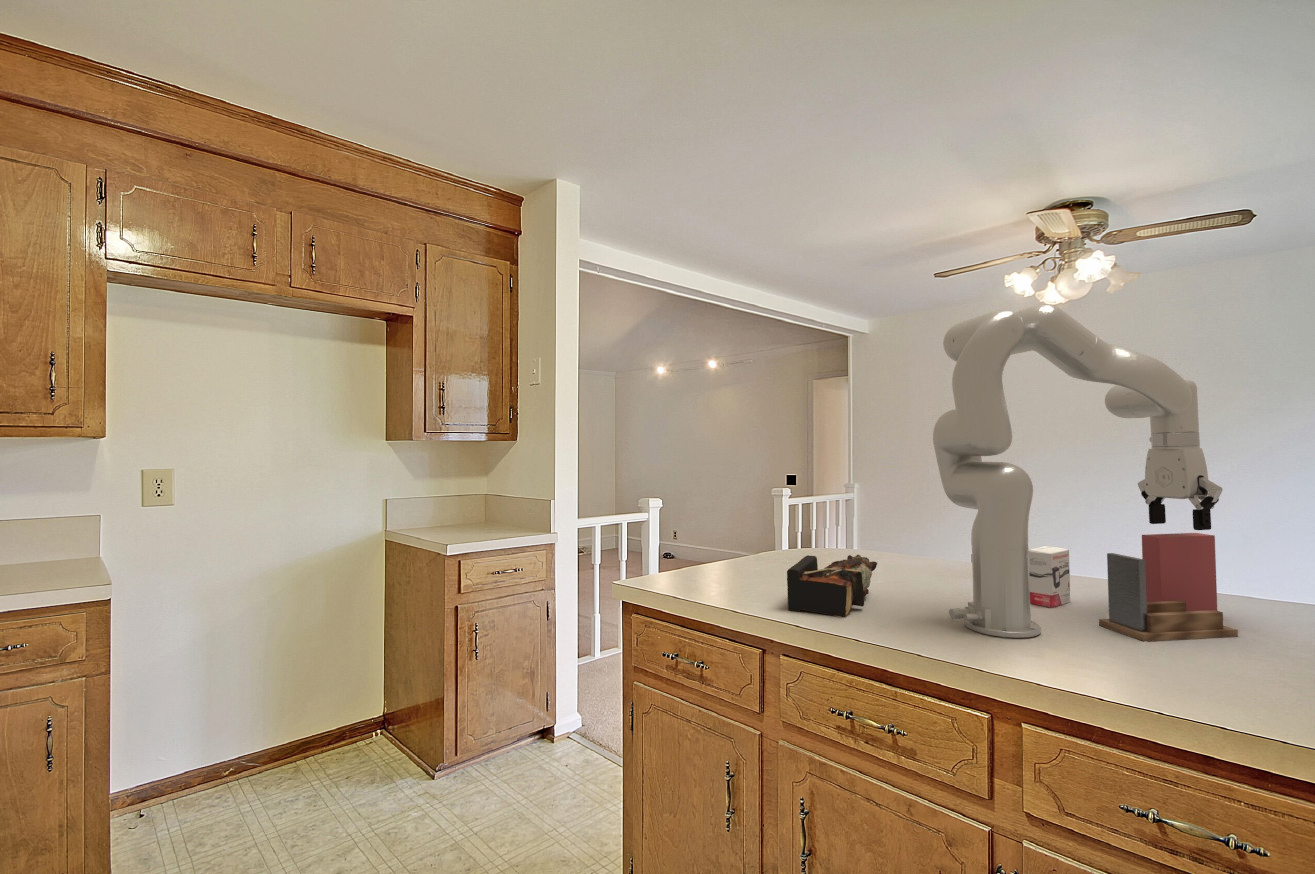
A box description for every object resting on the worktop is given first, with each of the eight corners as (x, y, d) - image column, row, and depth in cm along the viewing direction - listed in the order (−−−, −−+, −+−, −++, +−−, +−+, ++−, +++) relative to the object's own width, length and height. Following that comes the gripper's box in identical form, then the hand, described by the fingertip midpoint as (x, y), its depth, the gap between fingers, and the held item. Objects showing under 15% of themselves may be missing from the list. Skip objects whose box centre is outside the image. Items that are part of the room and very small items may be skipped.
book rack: (1144, 641, 109) (1143, 617, 109) (1099, 625, 119) (1098, 603, 119) (1238, 636, 111) (1237, 612, 111) (1185, 620, 121) (1184, 599, 121)
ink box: (1052, 608, 132) (1051, 552, 132) (1028, 603, 136) (1026, 549, 136) (1071, 602, 137) (1069, 548, 137) (1047, 597, 141) (1045, 545, 141)
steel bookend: (1141, 638, 111) (1138, 559, 111) (1109, 627, 118) (1106, 553, 118) (1147, 638, 111) (1145, 559, 111) (1115, 627, 118) (1112, 552, 118)
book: (1161, 619, 123) (1159, 537, 123) (1144, 613, 127) (1141, 534, 127) (1217, 616, 124) (1214, 535, 124) (1198, 610, 128) (1195, 532, 128)
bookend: (784, 570, 134) (816, 541, 156) (788, 619, 135) (820, 584, 156) (854, 574, 127) (877, 543, 148) (858, 626, 127) (881, 587, 149)
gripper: (1121, 442, 134) (1125, 522, 134) (1199, 442, 117) (1203, 533, 117) (1154, 441, 135) (1158, 520, 134) (1235, 440, 117) (1240, 531, 117)
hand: (1179, 526), depth 126 cm, fingers open, 9 cm apart
